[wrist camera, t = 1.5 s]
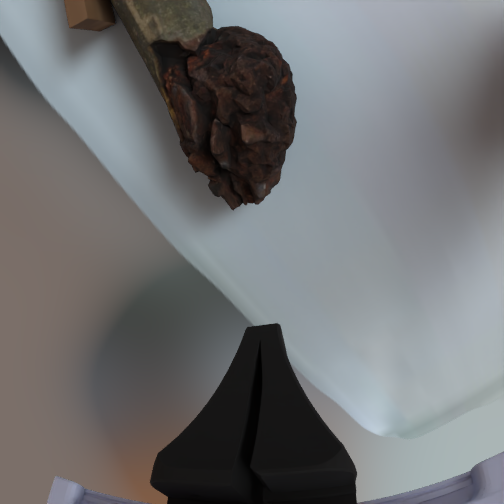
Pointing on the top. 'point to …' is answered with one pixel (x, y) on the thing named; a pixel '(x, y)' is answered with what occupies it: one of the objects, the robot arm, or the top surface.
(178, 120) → the brown rock
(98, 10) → the corner fence
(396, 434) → the top surface
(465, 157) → the top surface
